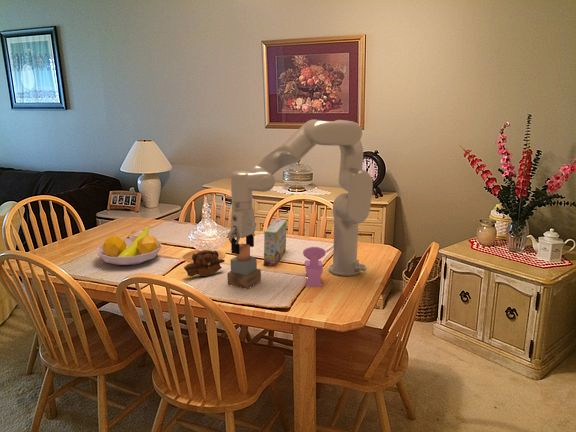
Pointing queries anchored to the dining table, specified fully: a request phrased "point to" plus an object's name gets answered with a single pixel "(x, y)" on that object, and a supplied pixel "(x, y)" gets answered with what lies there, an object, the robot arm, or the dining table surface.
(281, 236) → the snack box
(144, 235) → the fruit bowl
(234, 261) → the slate block
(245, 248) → the terracotta cylinder
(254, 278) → the walnut slab
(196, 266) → the wooden carving
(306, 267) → the pink tall piece
